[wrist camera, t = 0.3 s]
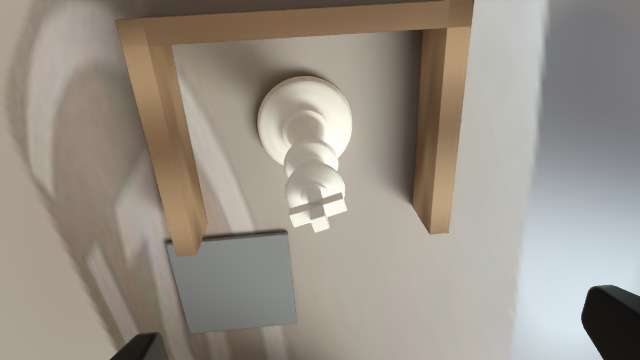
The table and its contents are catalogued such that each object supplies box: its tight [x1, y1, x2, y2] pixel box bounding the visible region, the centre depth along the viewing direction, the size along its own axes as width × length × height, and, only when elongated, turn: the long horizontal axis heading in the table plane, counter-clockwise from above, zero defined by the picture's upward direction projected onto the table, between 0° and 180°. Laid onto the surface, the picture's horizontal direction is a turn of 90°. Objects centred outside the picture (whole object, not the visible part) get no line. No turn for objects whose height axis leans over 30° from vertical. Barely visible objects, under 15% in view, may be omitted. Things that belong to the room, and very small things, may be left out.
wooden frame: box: [115, 0, 474, 257], centre depth 18 cm, size 11×14×3 cm
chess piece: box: [257, 76, 352, 233], centre depth 15 cm, size 5×5×10 cm
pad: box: [166, 232, 297, 334], centre depth 24 cm, size 7×7×1 cm
